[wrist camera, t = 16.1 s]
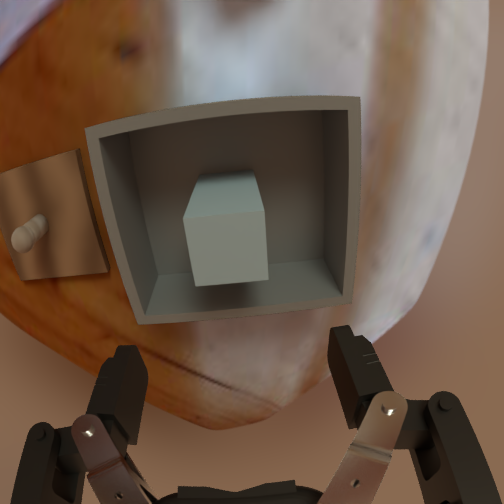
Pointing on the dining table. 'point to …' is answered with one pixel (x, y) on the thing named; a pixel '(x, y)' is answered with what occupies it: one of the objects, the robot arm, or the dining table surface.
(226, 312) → the bin
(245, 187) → the pale grey rectangular block
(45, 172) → the stud block
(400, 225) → the dining table surface
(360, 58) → the dining table surface
